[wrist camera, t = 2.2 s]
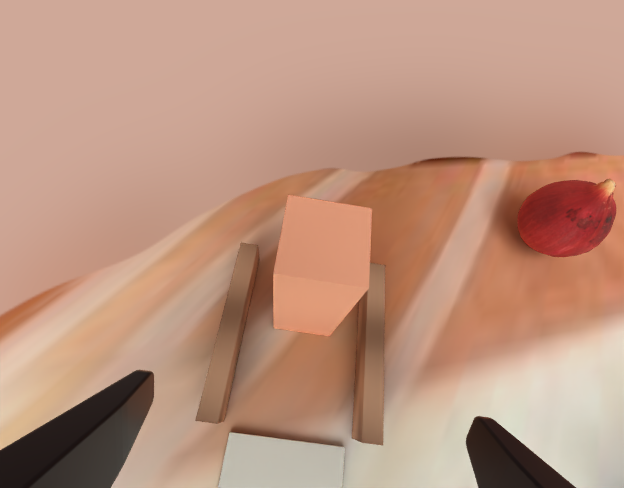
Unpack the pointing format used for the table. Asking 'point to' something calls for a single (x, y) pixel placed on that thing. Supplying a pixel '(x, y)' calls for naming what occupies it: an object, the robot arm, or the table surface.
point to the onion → (567, 217)
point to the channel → (367, 352)
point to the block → (320, 264)
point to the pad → (280, 463)
